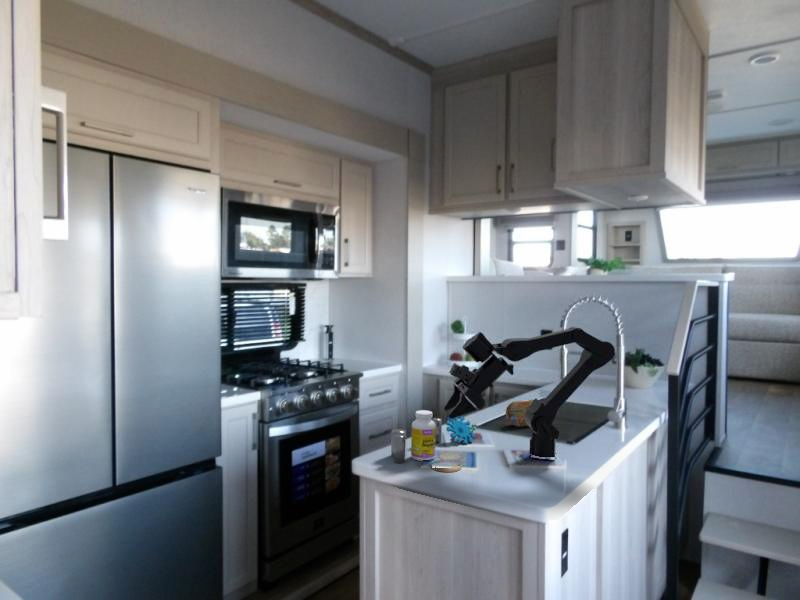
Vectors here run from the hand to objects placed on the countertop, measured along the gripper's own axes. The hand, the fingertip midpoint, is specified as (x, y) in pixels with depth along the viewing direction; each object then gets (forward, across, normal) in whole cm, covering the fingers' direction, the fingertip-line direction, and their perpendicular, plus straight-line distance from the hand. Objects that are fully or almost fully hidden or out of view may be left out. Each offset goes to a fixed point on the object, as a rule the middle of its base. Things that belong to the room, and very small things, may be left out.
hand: (447, 413), depth 159 cm
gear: (+4, -16, +14) cm, 22 cm away
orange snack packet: (-14, -35, +32) cm, 49 cm away
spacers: (+15, -7, +3) cm, 16 cm away
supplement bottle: (+14, 0, +4) cm, 14 cm away
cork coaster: (+10, +8, +8) cm, 15 cm away
